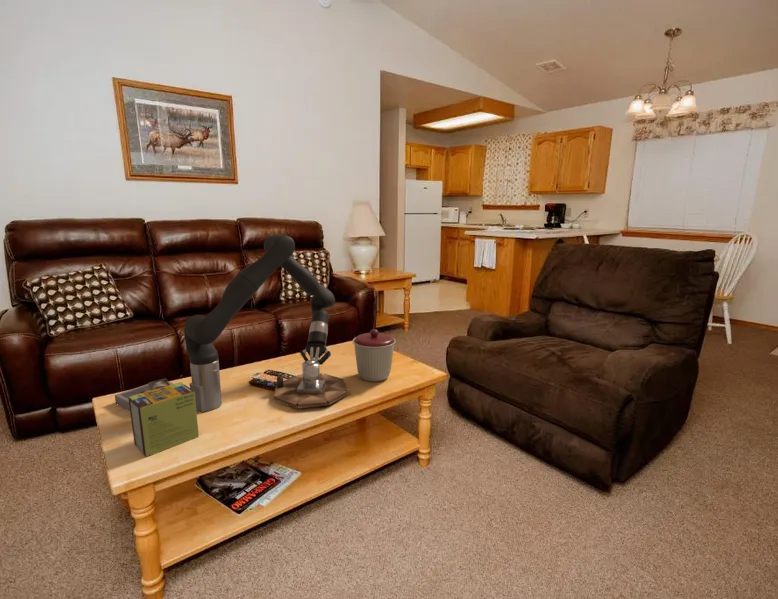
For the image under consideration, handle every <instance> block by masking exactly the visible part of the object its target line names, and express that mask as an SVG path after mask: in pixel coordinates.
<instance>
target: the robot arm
mask: <svg viewBox="0 0 778 599" xmlns="http://www.w3.org/2000/svg"><path fill="white" fill-rule="evenodd" d="M263 249H264V251H265V253H264V254H263V255H262V256H261V257H259V258H258V259H257V260H256V261H254V262H252V263H250V264H249V265H248V266H245V267H244V268H243V269H241V270H240V271H239V272H237V274H236V275H235V276H234V277H232V279H231V280H230V281H229V282H228V284H227V285H226V287H225V289H224V291H223V293H222V296H221V298H220V301H219V302H218V303H217V305H216V306H215V307H214V308H213V309H212V310H211V311H210V312H209V313H208V314H207V315H206V316H205V315H202V314H195V315H192V316H190V317H189V318H188V319H187V320H186V321H185V324H184V327H183V333H184V342H185V343H184V344H185V350H186V353H187V356H188V357H189V367H190V375H191V376H190V378H191V382H189V388H191V389H192V390H194V391H195V402H196V411H197V412H200V413H204V412H209V411H213V410H216V409H218V408H220V407H221V406H222V405H223V400H222V399H223V398H222V386H221V375H220V373H221V372H220V363H219V353H218V350H217V349H216V347H215V345H214V342H215V341H216V340H217V339H218V338H219V337H220V336H221V334H222V332H224V330H225V328H226V327H227V326H228V325H229V323H230V322H231V321H232V319H233V318H234V317H235V316H236V315H237V314H238V312H239V311H240V310H241V309H242V308H243V307H244V306H245V304H247V303H248V301H249V300H250V299H251V298H253V296H254V295H255V294H256V293H257V291H258V290H259V289H260V288H261V287H262V286H263V284H264V283H266V281H268V279H269V278H270V277H271V276H272V275H273V273H274V272H275V271H276V270H277V269H278V268H282V269H284V271H286V273H288V274H289V276H290V277H292V278H293V280H294V281H295V282H296V284H297V285H298V286H299V287H300V288H301V289H302V290H303V292H304V293H305V294H306V295H307V296H312V297H311V298H310V308H311V314H312V317H311V322H310V326H309V330H308V331H309V332H308V338H307V343H306V346H305V349H303V350H299V354H300V356H301V357H302V359H303V360H304V362H306V361H308V360H314V361H317V362H319V366H320V365H321V366H322V365H324V363H325V362H326V361H327V360H328V359H329V358H330V357H331V356H332V354H331V351H330V350H328V349H327V340H328V334H329V333H328V332H329V328H328V327H329V319H330V316H329V315H330V314H329V313H328V311H325V309H328V308H331V307H333V306H334V305H335V303H336V298H335V295H334V294H333V292H332V291H331V290H330V289H328V288H327V287H325V286H324V285H323V284H321V283H320V282H319V280H317V279H316V277H315V276H314V275H313V274H312V272H311V271H309V269H308V268H306V267H305V266H303V265H302V264H301V263H300V262H298V261H297V260H296V259H295V258H294V257H293V256H292V255H293V254H294V252H295V249H296V242H295V241H294V239H293V238H292V237H291V236H289V235H286V234H285V235H284V234H273V235H269V236H267V237H266V238H265V240H264V241H263ZM307 355H308V356H309V358H308V356H307Z"/></svg>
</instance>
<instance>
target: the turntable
mask: <svg viewBox="0 0 778 599" xmlns="http://www.w3.org/2000/svg"><path fill="white" fill-rule="evenodd" d="M302 380H303V374H298V375H294V376H291V377H289V378H287V379H285V380H284V375H278V376H276V384H275V385H274V394H273V398H274V399H273V400H275V402H276V403H277V402H278V403H280V404H283V405H286V406H289V407H292V408H295V409H296V408H298V409H305V408H315V407H316V408H317V407H325V406H327V405H328V406H330V405H331V404H334V403H335V402H337V401H339V400H340V399H342V398H344V397H346V396H347V395H348V393H349V391H348V387H347V384H346V380H345V379H343V378H341V377H338V376H334V375H332V374H331V375H330V374H328V373H320V380H325V386H324V388H323V390H322V392H321V394H316V393H297V388H298V386H299V385H300V383H301V382H302Z"/></svg>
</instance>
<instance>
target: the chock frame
mask: <svg viewBox="0 0 778 599" xmlns="http://www.w3.org/2000/svg"><path fill="white" fill-rule="evenodd" d="M168 383H169V385H172V384H174V383H173V382H171V381H168ZM148 388H150V387H149V385H148V383H147V384H144V385H141V386H138V387H135V388H132V389H130V390H129V389H128V390H126V391H123V392H121V393H117V394H114V399H115V401H114V402H115V405H117V404H118V405H117V406H119V407H121V408H122V409H125V410H127V411H129V412H130V406H129V399H128V397H130V396H134V395H137V394H139V393H141V392H143V391H145V390H146V389H148Z"/></svg>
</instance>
